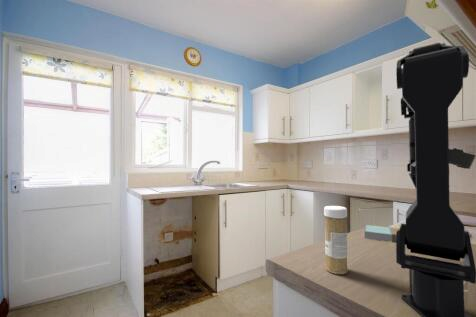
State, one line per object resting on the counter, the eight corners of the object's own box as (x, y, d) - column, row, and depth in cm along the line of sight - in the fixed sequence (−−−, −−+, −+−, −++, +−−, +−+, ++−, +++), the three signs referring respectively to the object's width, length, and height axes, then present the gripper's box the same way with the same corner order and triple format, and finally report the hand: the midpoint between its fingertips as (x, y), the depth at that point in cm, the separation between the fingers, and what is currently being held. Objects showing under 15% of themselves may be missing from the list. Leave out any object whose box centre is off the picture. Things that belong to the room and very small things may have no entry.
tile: (392, 234, 67) (390, 227, 74) (364, 231, 70) (365, 224, 77) (392, 243, 66) (390, 235, 74) (364, 239, 70) (365, 232, 77)
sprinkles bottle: (324, 264, 52) (323, 204, 52) (346, 267, 51) (345, 205, 51) (326, 274, 48) (324, 208, 48) (350, 276, 46) (349, 209, 47)
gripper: (484, 131, 44) (486, 214, 43) (460, 139, 59) (462, 200, 59) (410, 135, 50) (412, 208, 49) (406, 141, 65) (407, 197, 65)
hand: (425, 203), depth 55 cm, fingers closed
